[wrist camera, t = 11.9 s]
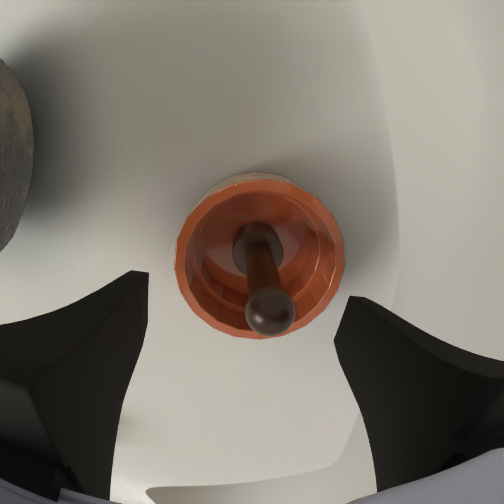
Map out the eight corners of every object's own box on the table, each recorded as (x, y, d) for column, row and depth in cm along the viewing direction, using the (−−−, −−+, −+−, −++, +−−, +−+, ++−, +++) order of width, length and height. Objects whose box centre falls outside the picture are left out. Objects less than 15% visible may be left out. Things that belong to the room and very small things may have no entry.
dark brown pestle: (283, 225, 20) (322, 293, 11) (274, 268, 21) (301, 359, 12) (236, 218, 20) (239, 283, 11) (229, 262, 21) (227, 352, 12)
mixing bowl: (336, 186, 20) (362, 198, 16) (305, 309, 23) (320, 345, 19) (196, 161, 19) (185, 166, 15) (180, 293, 22) (169, 327, 18)
